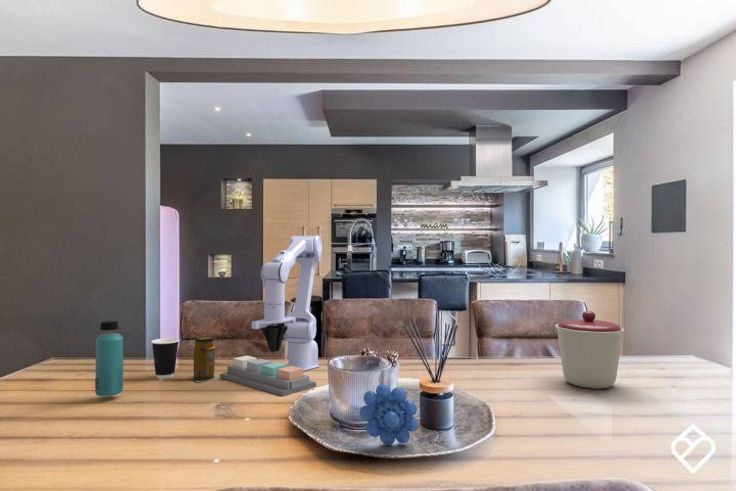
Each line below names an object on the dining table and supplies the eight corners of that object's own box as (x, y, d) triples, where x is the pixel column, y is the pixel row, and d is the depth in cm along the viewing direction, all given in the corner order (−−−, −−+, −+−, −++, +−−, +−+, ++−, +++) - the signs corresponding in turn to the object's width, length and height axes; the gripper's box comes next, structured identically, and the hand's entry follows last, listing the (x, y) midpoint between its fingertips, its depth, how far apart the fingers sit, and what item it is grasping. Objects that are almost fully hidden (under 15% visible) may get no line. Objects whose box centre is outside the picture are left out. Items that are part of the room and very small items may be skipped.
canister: (609, 397, 121) (608, 316, 122) (543, 383, 135) (543, 310, 135) (635, 385, 133) (634, 311, 134) (572, 372, 147) (572, 306, 147)
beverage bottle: (129, 396, 122) (130, 320, 122) (105, 404, 116) (106, 323, 116) (112, 393, 124) (113, 318, 125) (88, 400, 118) (89, 321, 119)
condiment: (211, 373, 146) (212, 335, 146) (221, 379, 139) (221, 339, 139) (187, 377, 141) (188, 337, 142) (196, 383, 135) (196, 341, 135)
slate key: (260, 366, 142) (260, 358, 142) (271, 369, 139) (271, 361, 139) (246, 369, 138) (246, 361, 138) (257, 372, 135) (257, 364, 135)
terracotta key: (291, 374, 133) (291, 365, 133) (303, 377, 130) (303, 368, 130) (277, 377, 129) (277, 369, 129) (289, 381, 126) (289, 372, 126)
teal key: (275, 370, 137) (275, 362, 138) (286, 373, 134) (286, 364, 134) (261, 373, 134) (261, 365, 134) (272, 376, 130) (272, 368, 130)
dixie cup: (184, 373, 145) (184, 338, 145) (168, 380, 137) (169, 343, 137) (161, 372, 146) (161, 337, 147) (144, 379, 139) (145, 342, 139)
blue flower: (361, 456, 86) (361, 391, 86) (358, 441, 93) (358, 381, 93) (423, 453, 87) (423, 389, 88) (415, 439, 94) (415, 379, 94)
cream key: (246, 363, 146) (246, 355, 146) (256, 365, 143) (256, 357, 143) (233, 366, 142) (233, 358, 143) (242, 368, 139) (242, 360, 139)
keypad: (252, 369, 150) (252, 360, 150) (315, 386, 132) (316, 374, 132) (220, 377, 141) (220, 366, 141) (283, 396, 122) (283, 384, 122)
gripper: (284, 301, 142) (284, 345, 142) (245, 304, 131) (244, 353, 131) (300, 302, 138) (300, 348, 138) (260, 306, 127) (260, 356, 127)
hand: (274, 351), depth 134 cm, fingers closed
